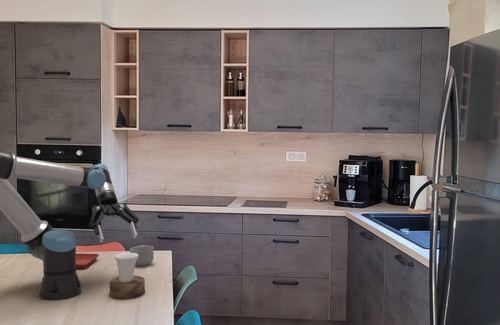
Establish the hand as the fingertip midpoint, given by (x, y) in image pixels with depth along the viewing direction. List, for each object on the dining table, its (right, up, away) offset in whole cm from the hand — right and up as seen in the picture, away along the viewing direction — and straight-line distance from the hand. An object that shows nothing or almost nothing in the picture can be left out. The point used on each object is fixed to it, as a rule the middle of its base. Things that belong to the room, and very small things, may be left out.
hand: (119, 238), depth 198 cm
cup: (+5, -15, -7) cm, 17 cm away
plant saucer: (-30, -18, +34) cm, 48 cm away
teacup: (+2, -17, +35) cm, 39 cm away
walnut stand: (+5, -20, -6) cm, 21 cm away
